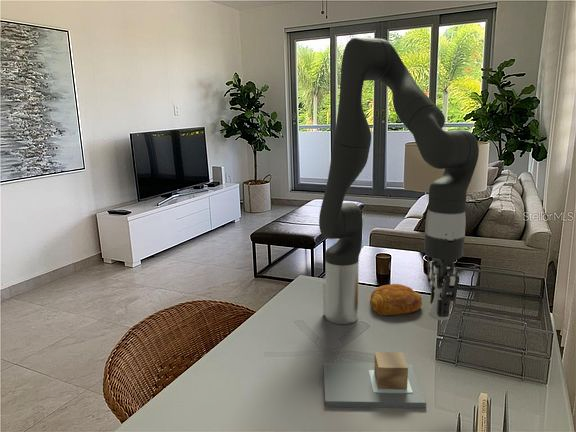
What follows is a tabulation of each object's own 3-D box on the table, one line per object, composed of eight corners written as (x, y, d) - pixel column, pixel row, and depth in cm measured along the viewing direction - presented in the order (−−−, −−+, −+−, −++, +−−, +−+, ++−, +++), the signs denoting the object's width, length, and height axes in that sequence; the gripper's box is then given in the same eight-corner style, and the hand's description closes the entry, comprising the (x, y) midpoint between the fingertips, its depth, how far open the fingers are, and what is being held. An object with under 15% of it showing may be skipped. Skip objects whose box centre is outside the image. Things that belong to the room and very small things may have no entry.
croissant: (427, 321, 130) (432, 296, 129) (377, 320, 127) (382, 294, 125) (405, 300, 144) (410, 277, 142) (359, 298, 141) (364, 274, 139)
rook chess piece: (451, 321, 92) (454, 285, 90) (429, 320, 93) (431, 284, 91) (448, 312, 96) (451, 277, 94) (426, 310, 97) (428, 276, 95)
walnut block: (377, 388, 93) (378, 367, 92) (374, 372, 99) (374, 352, 98) (407, 389, 93) (408, 367, 92) (401, 373, 99) (402, 352, 98)
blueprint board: (325, 406, 90) (325, 400, 90) (323, 367, 104) (323, 362, 104) (426, 407, 89) (426, 401, 89) (410, 368, 103) (411, 363, 103)
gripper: (417, 223, 97) (412, 296, 101) (436, 242, 83) (430, 327, 87) (452, 222, 97) (446, 296, 101) (477, 242, 83) (469, 327, 87)
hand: (439, 310), depth 94 cm, fingers closed on rook chess piece, 4 cm apart
